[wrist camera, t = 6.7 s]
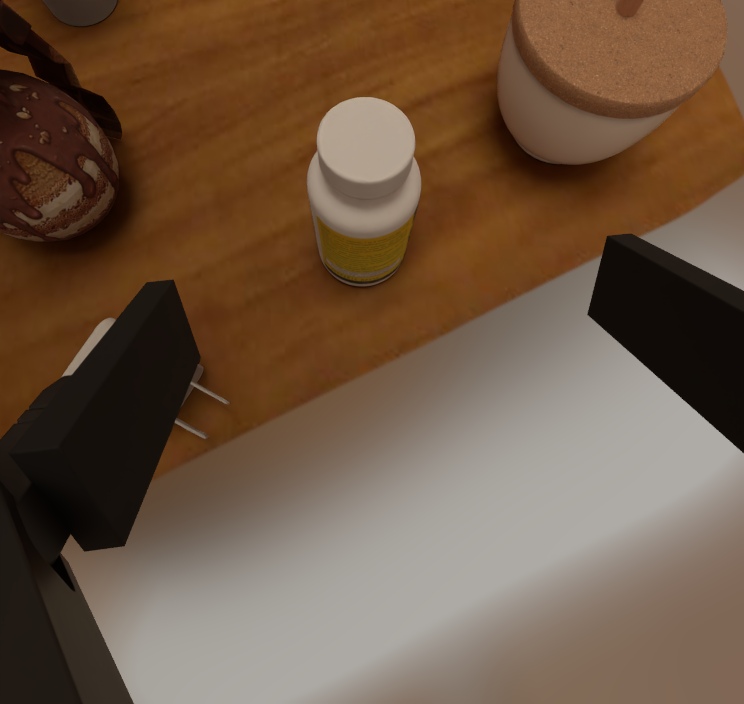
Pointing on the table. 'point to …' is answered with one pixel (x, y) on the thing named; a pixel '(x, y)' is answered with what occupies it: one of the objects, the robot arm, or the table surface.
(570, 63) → the trinket box
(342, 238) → the supplement bottle
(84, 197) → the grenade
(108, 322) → the usb wall charger
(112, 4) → the cup
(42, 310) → the table surface
